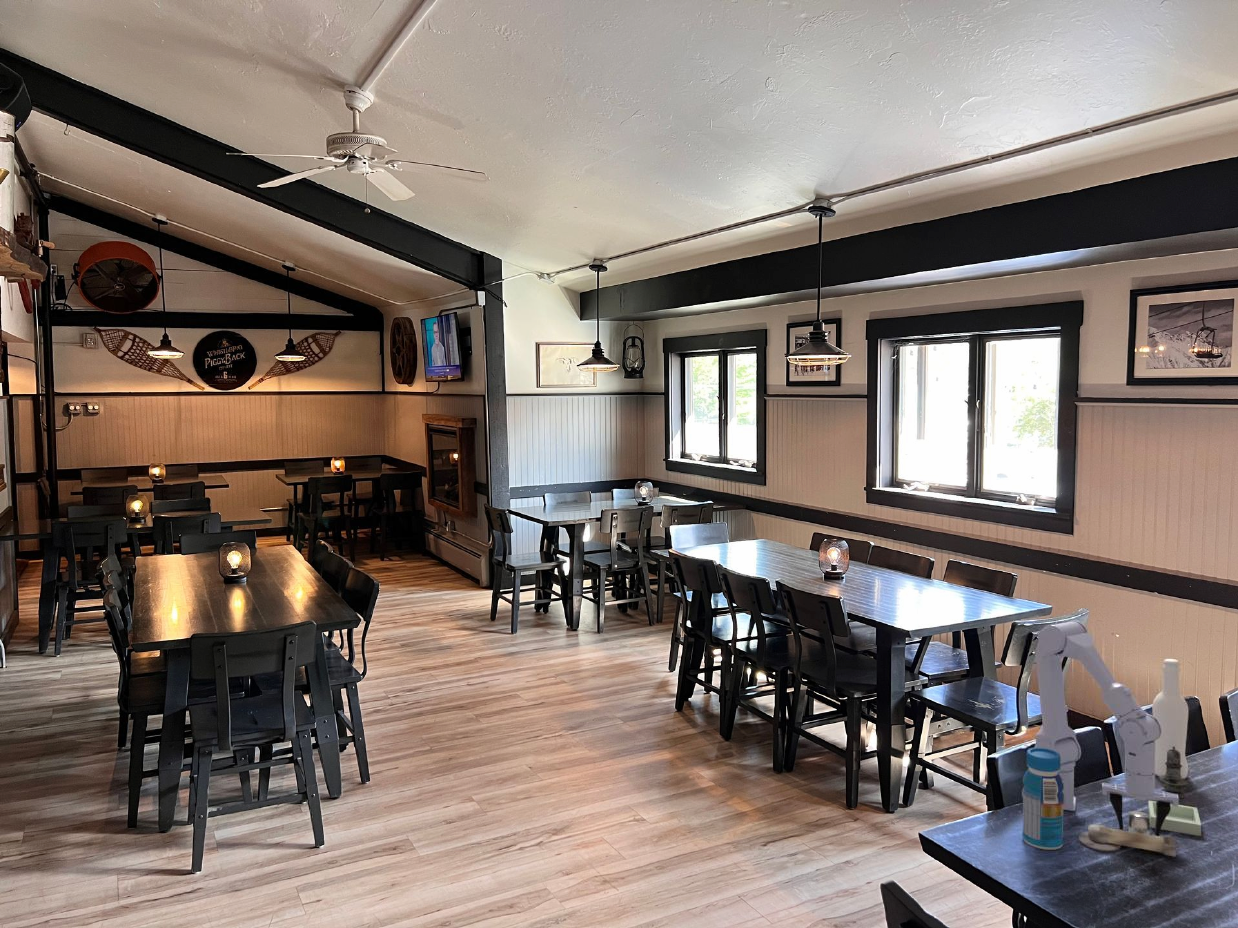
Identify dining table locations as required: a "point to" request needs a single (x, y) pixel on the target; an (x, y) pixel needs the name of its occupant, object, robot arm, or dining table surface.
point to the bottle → (1170, 719)
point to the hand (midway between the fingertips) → (1139, 830)
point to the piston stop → (1139, 822)
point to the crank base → (1097, 843)
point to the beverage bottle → (1043, 800)
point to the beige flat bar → (1132, 839)
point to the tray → (1178, 819)
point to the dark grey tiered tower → (1173, 774)
